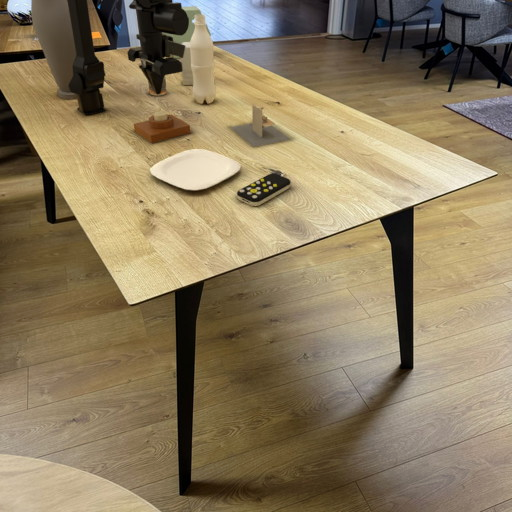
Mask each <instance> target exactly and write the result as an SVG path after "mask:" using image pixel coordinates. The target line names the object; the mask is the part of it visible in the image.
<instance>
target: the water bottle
mask: <svg viewBox="0 0 512 512" xmlns="http://www.w3.org/2000/svg"><path fill="white" fill-rule="evenodd" d="M193 21H194V22H193V23H194V25H195V30H194V33H193V35H192V38H191V40H190V54H191V68H192V72H193V85H192V96H193V98H194V101H196V102H197V103H198V104H200V105H202V104H204V102H206V104H209V105H210V104H212V103H213V102H214V101H215V98H216V94H217V92H216V91H217V89H216V86H215V79H214V73H215V72H214V71H215V60H214V59H215V58H214V57H215V54H214V53H215V52H214V42H213V39H212V37H211V36H210V35H209V33H208V32H207V29H206V25H207V21H206V15H205V14H203V13H202V14H198V15H195V18H194V20H193ZM205 22H206V23H205Z"/></svg>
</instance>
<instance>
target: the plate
mask: <svg viewBox="0 0 512 512" xmlns="http://www.w3.org/2000/svg"><path fill="white" fill-rule="evenodd" d="M241 169H242V165H241V164H240V163H239V162H238V161H237V160H235V159H233V158H231V157H228V156H226V155H223V154H220V153H218V152H215V151H212V150H208V149H202V148H192V149H185V150H184V151H180V152H178V153H175V154H172V155H171V156H169V157H167V158H165V159H162V160H160V161H158V162H157V163H155V164H153V165H152V167H150V169H149V172H150V174H151V176H153V177H155V178H156V179H158V180H159V181H161V182H164V183H166V184H168V185H170V186H173V187H175V188H176V189H177V188H178V189H181V190H184V191H191V192H199V191H203V190H207V189H210V188H213V187H214V186H215V187H216V186H218V185H219V184H220V183H223V182H225V181H227V180H228V179H230V178H231V177H234V175H236V174H237V173H239V172H240V170H241Z"/></svg>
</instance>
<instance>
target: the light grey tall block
mask: <svg viewBox="0 0 512 512" xmlns="http://www.w3.org/2000/svg"><path fill="white" fill-rule="evenodd" d="M182 44H183V45H185V51H184V56H183V58H179V59H180V60H179V61H180V62H181V63H182V67H183V71H182V72H181V79H182V86H193V72H192V68H191V54H190V42H183V43H182Z"/></svg>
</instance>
